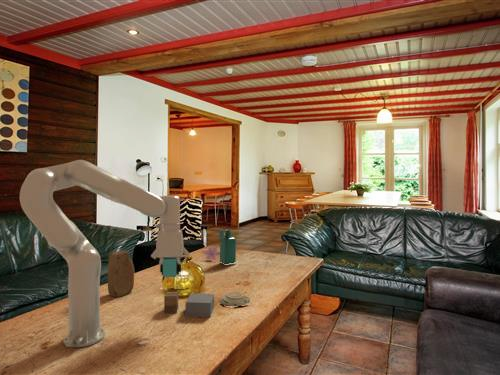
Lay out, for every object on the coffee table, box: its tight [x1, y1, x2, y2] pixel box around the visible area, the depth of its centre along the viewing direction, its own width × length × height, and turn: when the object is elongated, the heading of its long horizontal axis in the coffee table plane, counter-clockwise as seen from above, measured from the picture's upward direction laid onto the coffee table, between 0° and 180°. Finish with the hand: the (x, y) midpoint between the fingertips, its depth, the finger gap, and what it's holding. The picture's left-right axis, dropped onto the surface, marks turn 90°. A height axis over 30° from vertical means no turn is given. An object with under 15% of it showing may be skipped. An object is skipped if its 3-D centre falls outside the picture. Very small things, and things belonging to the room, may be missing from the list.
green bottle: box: [218, 229, 237, 264], centre depth 209 cm, size 10×8×22 cm
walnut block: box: [163, 291, 179, 314], centre depth 136 cm, size 5×5×7 cm
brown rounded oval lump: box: [107, 249, 135, 298], centre depth 155 cm, size 11×8×20 cm
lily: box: [201, 244, 220, 261], centre depth 219 cm, size 12×12×10 cm
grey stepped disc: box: [218, 291, 251, 307], centre depth 147 cm, size 15×4×15 cm
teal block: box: [162, 258, 178, 278], centre depth 128 cm, size 5×5×7 cm
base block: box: [185, 292, 215, 318], centre depth 136 cm, size 10×10×6 cm
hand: (170, 273), depth 128 cm, fingers closed on teal block, 5 cm apart
